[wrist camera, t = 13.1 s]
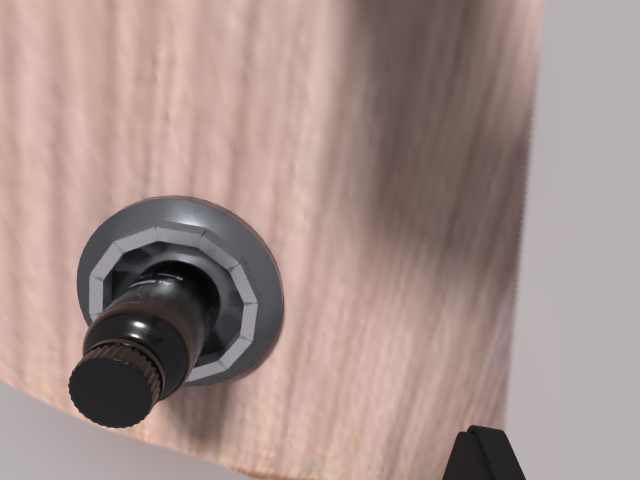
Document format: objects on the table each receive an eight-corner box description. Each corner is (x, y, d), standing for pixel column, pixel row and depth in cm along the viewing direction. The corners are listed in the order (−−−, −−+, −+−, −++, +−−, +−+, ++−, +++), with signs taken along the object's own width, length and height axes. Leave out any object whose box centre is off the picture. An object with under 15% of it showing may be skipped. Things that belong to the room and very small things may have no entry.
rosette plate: (84, 178, 37) (65, 187, 34) (297, 215, 37) (294, 226, 34) (83, 360, 42) (66, 380, 39) (269, 391, 42) (264, 412, 40)
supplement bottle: (175, 238, 37) (103, 315, 25) (240, 301, 38) (200, 399, 27) (116, 293, 38) (24, 388, 27) (181, 351, 40) (119, 464, 29)
